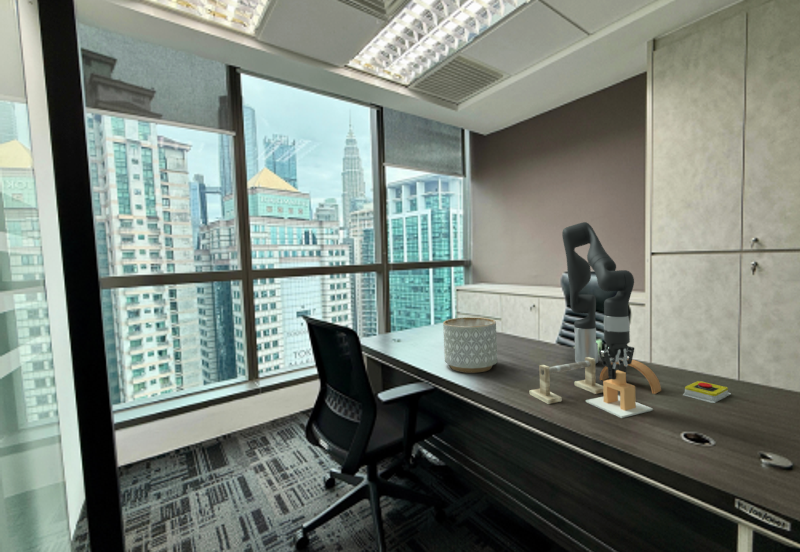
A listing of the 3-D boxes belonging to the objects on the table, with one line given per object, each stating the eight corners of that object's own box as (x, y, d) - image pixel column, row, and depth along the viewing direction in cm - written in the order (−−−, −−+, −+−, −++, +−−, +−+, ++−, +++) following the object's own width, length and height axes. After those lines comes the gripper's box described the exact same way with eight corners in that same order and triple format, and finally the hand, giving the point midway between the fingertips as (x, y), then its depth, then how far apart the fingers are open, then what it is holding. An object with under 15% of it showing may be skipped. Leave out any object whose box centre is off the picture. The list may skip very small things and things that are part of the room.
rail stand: (586, 383, 143) (585, 354, 143) (607, 391, 134) (606, 360, 133) (529, 394, 135) (528, 363, 134) (548, 404, 125) (547, 371, 124)
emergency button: (681, 384, 127) (700, 376, 135) (681, 396, 128) (700, 387, 135) (713, 392, 119) (731, 383, 127) (713, 404, 120) (731, 394, 127)
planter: (435, 364, 178) (433, 321, 177) (474, 356, 190) (472, 315, 189) (466, 378, 156) (464, 329, 155) (508, 368, 167) (507, 321, 166)
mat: (614, 395, 130) (614, 393, 130) (652, 410, 116) (652, 408, 116) (585, 401, 125) (585, 400, 125) (621, 418, 112) (621, 416, 112)
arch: (654, 394, 129) (654, 368, 129) (599, 380, 146) (598, 356, 146) (661, 391, 132) (660, 365, 132) (606, 377, 149) (606, 354, 149)
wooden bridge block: (614, 399, 125) (613, 367, 125) (635, 407, 117) (635, 374, 117) (603, 401, 123) (602, 369, 123) (624, 410, 116) (623, 376, 115)
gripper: (621, 324, 125) (622, 371, 126) (591, 328, 121) (592, 377, 122) (642, 328, 118) (643, 377, 119) (610, 332, 114) (611, 384, 115)
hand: (617, 377), depth 120 cm, fingers open, 4 cm apart
